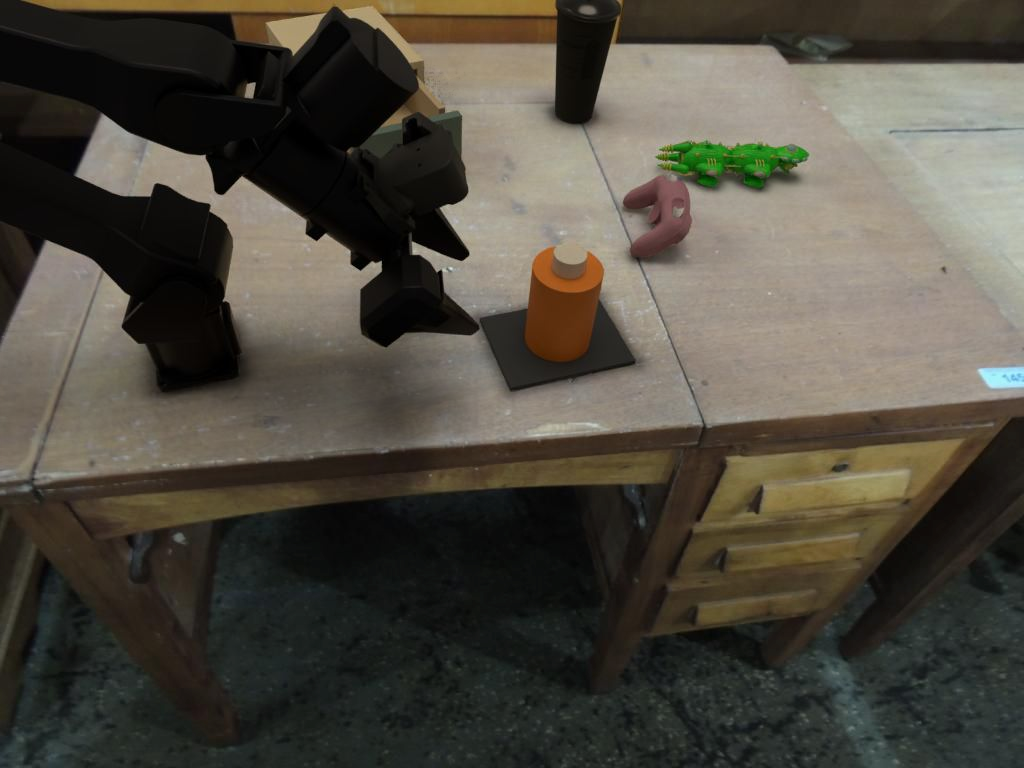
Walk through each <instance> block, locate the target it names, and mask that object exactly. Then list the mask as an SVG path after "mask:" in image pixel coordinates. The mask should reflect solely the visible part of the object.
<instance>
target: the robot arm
mask: <svg viewBox="0 0 1024 768" xmlns="http://www.w3.org/2000/svg"><path fill="white" fill-rule="evenodd" d="M325 13H326V14H325V16H324V17H323V18H322V19H321V21H320V23H319V25H318V27H317V29H316V30H315V32H314V33H313V34H312V35H311V37H310V38H309V39H308V40H307V41H306V42H305V43H304V44H303V46H302V47H301V48H300V49H299V50H298V51H297V52H296V53H295V54H294V56H293V52H292V51H291V49H289V48H287V47H280V46H273V45H270V44H265V43H258V42H252V41H251V42H250V41H244V40H237V39H230V38H228V37H227V36H226V35H225V34H223V33H222V32H221V31H218V30H216V29H213V28H212V27H209V26H206V25H202V24H198V23H189V22H181V21H175V20H168V19H159V18H153V17H142V18H141V17H140V18H129V19H121V20H120V19H119V20H117V19H116V20H102V19H94V18H88V17H87V18H86V17H83V16H79V15H77V14H76V15H75V14H72V13H68V12H65V11H62V10H58V9H54V8H51V7H48V6H43V5H40V4H36V3H33V2H29V1H26V0H0V83H1V84H4V85H5V84H6V85H10V86H13V87H17V88H21V89H26V90H29V91H34V92H37V93H41V94H46V95H50V96H54V97H59V98H62V99H67V100H71V101H74V102H77V103H79V104H82V105H84V106H87V107H89V108H92V109H94V110H97V111H98V112H99V113H101V114H102V115H104V116H105V117H106V118H108V120H111V121H112V122H113V123H114V124H116V125H117V126H119V127H120V128H121V129H123V130H124V131H125V132H127V133H128V134H131V135H133V136H136V137H138V138H142V139H144V140H146V141H150V142H152V143H154V144H157V145H160V146H162V147H165V148H167V149H171V150H173V151H176V152H179V153H182V154H185V155H189V156H198V157H199V156H205V158H204V159H205V161H206V162H207V165H208V167H209V169H210V173H211V178H212V182H213V191H214V193H215V194H217V195H218V196H224V195H226V193H227V192H229V190H230V189H231V188H232V187H234V185H235V184H236V183H237V182H238V181H239V180H240V179H241V178H244V179H245V180H247V181H248V182H250V183H251V184H253V185H254V186H255V187H257V188H258V189H260V190H262V191H263V192H264V193H266V194H267V195H268V196H270V197H271V198H273V199H275V200H276V201H277V202H279V203H280V204H281V205H283V206H284V207H286V208H288V209H289V210H290V211H292V212H293V213H295V214H296V215H297V216H299V217H301V218H302V219H304V220H305V232H304V234H305V235H306V236H308V237H309V238H310V239H312V240H313V241H315V242H318V241H319V240H320V239H321V238H322V237H324V235H326V236H328V237H330V238H331V239H332V240H334V241H335V242H337V243H339V244H340V245H342V246H343V247H344V248H346V249H347V250H348V251H350V256H349V257H350V261H349V263H350V265H351V266H352V267H353V268H355V269H357V270H358V271H359V272H362V271H363V270H364V269H365V268H366V267H367V266H369V265H370V264H371V263H372V262H373V263H374V264H378V263H381V271H380V272H379V273H378V274H376V276H375V277H373V278H372V279H370V280H369V281H368V282H367V283H366V284H365V285H364V286H363V287H361V288H360V289H359V292H360V293H359V326H360V327H359V328H360V334H361V336H363V337H365V338H366V339H368V340H370V341H371V342H373V343H374V344H376V345H378V346H379V347H381V348H386V349H388V347H390V346H391V345H392V344H393V343H394V342H396V341H398V340H399V339H400V338H401V337H402V336H404V335H405V334H417V333H419V334H420V333H421V334H422V333H423V334H424V333H425V334H442V335H454V336H455V335H457V336H473V335H475V334H476V333H477V332H479V331H480V328H481V327H480V324H479V323H478V322H477V321H476V320H475V319H474V318H473V317H472V316H471V315H470V314H469V313H468V312H467V311H466V310H465V309H464V308H462V307H461V306H460V305H459V304H458V303H457V302H456V301H455V300H454V299H452V297H451V296H449V294H447V293H446V292H445V284H444V283H445V282H444V272H443V270H442V269H440V270H438V271H437V270H436V269H435V266H433V264H432V262H431V261H429V260H428V259H426V258H425V257H423V255H421V254H414V252H413V243H414V244H417V245H419V246H421V247H424V248H426V249H428V250H430V251H433V252H435V253H438V254H440V255H443V256H445V257H447V258H450V259H453V260H455V261H456V260H457V261H458V262H464V261H465V260H467V258H469V257H470V255H471V254H470V250H469V249H468V247H467V246H466V244H465V243H464V242H463V240H462V238H461V237H460V236H459V234H458V233H457V231H456V229H454V227H453V225H452V224H451V223H450V221H449V220H448V218H447V216H446V215H445V214H444V213H443V210H442V209H441V208H442V207H445V206H447V205H448V206H449V205H450V206H453V205H456V204H458V203H460V202H462V201H464V200H465V199H466V198H467V197H468V194H469V189H470V188H469V184H468V180H467V174H466V171H467V167H466V166H465V163H464V161H463V159H461V157H460V155H459V153H458V151H457V150H456V148H455V146H454V144H453V138H452V133H451V132H450V131H449V130H445V129H444V127H443V125H442V124H440V125H438V126H437V125H436V124H435V123H434V122H433V121H431V120H430V119H428V118H427V117H426V116H424V115H423V114H421V113H420V112H416V113H414V114H411V115H409V116H407V117H405V118H403V119H402V144H398V143H396V144H393V148H392V149H390V150H389V151H388V152H387V153H386V154H385V155H384V156H383V157H382V158H379V157H377V156H375V155H374V154H373V153H371V152H370V151H369V150H368V149H364V150H362V149H361V148H359V146H361V145H362V144H363V143H364V142H365V141H366V140H367V139H368V138H369V137H370V136H372V135H373V134H374V133H375V132H376V131H377V130H378V129H379V128H380V127H381V126H382V125H383V124H384V123H385V122H386V121H387V120H388V119H389V118H390V117H391V116H392V115H393V114H394V113H395V112H396V111H397V110H398V109H399V108H400V107H401V106H402V105H403V104H404V103H406V102H407V101H408V100H409V99H410V98H411V97H412V96H413V95H414V94H415V93H416V92H417V91H418V89H419V82H418V79H417V76H416V74H415V72H414V70H413V68H412V67H411V65H410V63H409V62H408V60H407V59H406V57H405V56H404V55H403V53H402V52H401V51H400V49H399V48H398V47H397V46H396V45H395V44H394V42H393V41H392V40H391V39H390V38H389V37H388V36H387V35H386V34H385V33H384V32H383V31H381V30H380V29H379V28H376V29H374V28H373V27H372V26H370V25H369V24H368V23H366V22H364V21H362V20H360V19H357V18H349V17H348V16H347V15H346V14H345V13H344V12H343V11H342V9H341V8H339V6H331V8H329V10H327V12H325ZM254 83H255V84H254ZM249 84H254V90H253V95H252V97H246V94H247V93H246V92H247V88H248V85H249ZM351 147H352V148H356V147H357V148H356V149H355V150H354V151H353V152H352V153H351V154H350V153H349V152H347V151H348V150H349V149H350V148H351ZM211 208H212V207H211V203H209V202H203V201H197V200H195V199H191V198H189V197H187V196H186V195H183V194H182V193H180V192H179V191H177V190H175V189H174V188H172V187H171V186H169V185H166V184H163V183H161V182H160V183H159V182H156V183H154V185H153V187H152V190H151V194H150V196H149V195H145V196H144V195H121V194H117V193H114V192H112V191H109V190H107V189H105V188H104V187H103V188H102V187H100V186H98V185H96V184H94V183H92V182H89V181H87V180H85V179H82V178H81V177H78V176H77V175H74V174H72V173H70V172H68V171H65V170H63V169H62V168H60V167H56V166H54V165H52V164H50V163H48V162H46V161H43V160H41V159H39V158H37V157H34V156H33V155H30V154H28V153H26V152H24V151H21V150H19V149H17V148H15V147H13V146H10V145H8V144H6V143H4V142H1V141H0V223H2V224H5V225H8V226H9V227H12V228H14V229H17V230H19V231H22V232H24V233H27V234H30V235H32V236H35V237H38V238H40V239H43V240H44V241H47V242H50V243H52V244H55V245H57V246H59V247H62V248H65V249H67V250H70V251H72V252H75V253H77V254H79V255H82V256H84V257H86V258H88V259H90V260H92V261H93V262H95V264H97V266H98V267H99V268H100V269H101V270H102V271H103V272H104V273H105V274H106V275H107V276H108V277H109V278H110V280H112V281H113V282H114V283H115V284H116V285H117V287H118V288H119V289H120V290H121V291H122V292H123V293H125V294H126V295H128V296H129V298H128V303H127V305H126V309H125V312H124V316H123V319H122V323H121V329H122V330H123V331H124V332H125V333H126V334H127V335H128V336H129V337H130V338H131V339H132V340H133V341H135V343H137V344H139V345H145V347H146V349H147V351H148V353H149V356H150V357H151V360H152V363H153V364H154V367H155V372H156V373H155V375H156V386H157V389H158V390H159V391H160V392H167V391H171V390H177V389H182V388H188V387H193V386H197V385H201V384H207V383H213V382H217V381H218V382H219V381H223V380H227V379H233V378H236V377H238V376H239V375H240V367H239V359H238V357H239V356H241V355H242V347H241V346H242V345H241V339H240V333H239V330H238V326H237V324H236V323H237V322H236V320H235V315H234V314H233V310H232V307H231V304H230V302H229V301H227V300H224V299H225V297H226V291H227V286H228V280H229V274H230V269H231V263H232V258H233V251H234V237H233V236H232V233H231V231H230V229H229V228H228V223H227V222H225V221H224V220H223V218H221V217H220V216H218V214H217V215H216V214H215V213H213V212H212V211H211Z"/></svg>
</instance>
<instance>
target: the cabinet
mask: <svg viewBox="0 0 1024 768" xmlns="http://www.w3.org/2000/svg"><path fill="white" fill-rule="evenodd" d="M341 11H343V12H344V13H345V14H346V15H347V16H348V17H349V18H357V19H360V20H362V21H364V22H366V23H368V24H369V25H370V26H372V27H373V28H374V29H376V28H379V29H380V30H381V31H383V32H384V33H385V34H386V35H387V36H388V37H389V38H390V39H391V40H392V41H393V42H394V44H395V45H396V46H397V47H398V48H399V49H400V51H401V52H402V53H403V55H404V56H405V57H406V59H407V60H408V62H409V63H410V65H411V67H412V68H413V70H414V72H415V74H416V76H417V77H418V78H419V79H420V80H421V81H422V83H423V84H424V85H425V86H426V82H425V81H426V80H425V79H426V78H425V59H423V58H422V56H421V55H419V53H418V52H417V51H416V50H415V49H414V48H413V47H412V46H411V45H410V44H409V43H408V41H406V39H404V37H403V36H401V34H400V33H399V32H398V31H397V30H396V29H395V28H394V27H393V26H392V25H391V24H390V23H389V22H388V20H387V19H386V18H385V17H384V16H383V15H382V14H381V13H380V12H379V11H378V10H377V9H376V8H375V7H374V6H373V5H367V6H360V7H356V8H349V9H341ZM326 13H327V12H324V13H317V14H311V15H305V16H298V17H292V18H286V19H279V20H273V21H266V22H265V27H266V32H267V38H268V45H273V46H280V47H287V48H289V49H291V51H292V52H293V56H294V54H295V53H296V52H297V51H298V50H299V49H300V48H301V47H302V46H303V44H304V43H305V42H306V41H307V40H308V39H309V38H310V37H311V35H312V34H313V33H314V32H315V30H316V29H317V27H318V25H319V23H320V21H321V19H322V18H323V17H324V16H325V14H326Z"/></svg>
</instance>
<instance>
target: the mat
mask: <svg viewBox="0 0 1024 768" xmlns="http://www.w3.org/2000/svg"><path fill="white" fill-rule="evenodd" d="M527 310H528V308H523V309H518V310H514V311H513V310H512V311H507V312H502V313H497V314H492V315H487V316H481V317H479V323H480V325H481V327H482V329H483V331H484V334H485V337H486V338H487V341H488V343H489V345H490V348H491V350H492V352H493V354H494V357H495V359H496V361H497V363H498V366H499V368H500V370H501V372H502V374H503V377H504V379H505V381H506V384H507V386H508V388H509V391H511V392H512V391H515V390H520V389H525V388H530V387H533V386H539V385H542V384H543V385H544V384H546V383H552V382H556V381H560V380H565V379H569V378H575V377H580V376H583V375H587V374H588V375H589V374H592V373H597V372H601V371H606V370H610V369H614V368H619V367H624V366H628V365H633V364H636V361H637V360H636V358H635V356H634V355H633V353H632V351H631V349H630V348H629V346H628V345H627V344H626V342H625V340H624V338H623V336H622V335H621V334H620V331H619V330H618V328H617V326H616V324H615V323H614V321H613V320H612V318H611V316H610V315H609V313H608V311H607V310H606V309H605V306H604V305H603V302H602V301H601V299H599V300H598V305H597V310H596V315H595V319H594V324H593V329H592V334H591V339H590V344H589V347H588V349H587V351H586V352H585V353H584V354H583V355H582V356H581V357H579V358H577V359H575V360H572V361H569V362H552V361H548V360H545V359H542V358H540V357H538V356H537V355H535V354H534V353H533V352H532V351H531V350H530V349H529V347H528V346H527V344H526V341H525V329H526V320H527Z"/></svg>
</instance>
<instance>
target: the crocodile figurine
mask: <svg viewBox="0 0 1024 768" xmlns="http://www.w3.org/2000/svg"><path fill="white" fill-rule="evenodd" d="M763 144H764V142H763V141H758V142H757V143H752V142H751V143H744V144H743V145H741V144H740V142H736V145H723V143H722V142H721V141H719V142H718V144H713V143H712V142H711V140H707V139H706V140H704V141H703V142H702V141H701V142H696V141H694V140H690V141H689V140H685V141H683V142H682V141H681V142H679V143H675V144H673V143H670V144H667V145H664V146H662V147H661V148H659V149H658V151H662V153H660V154H657V155H655V156H654V158H655V159H657V160H659V161H662V162H661V163H658V164H657V167H660V169H662V170H664V171H668V172H670V171H672V172H674V173H677V174H679V175H682V176H684V177H688V176H691V175H692V176H694V175H695V174H697V180H696V182H697V183H698V184H700V185H701V186H706V187H709V188H714V187H716V186H718V184H719V179H718V178H717V177H720V176H721V175H723V173H734V174H735V176H736V177H738V176H739V175H740V174H743V177H744V180H743V181H742V183H743V184H744V185H746V186H747V187H752V188H755V189H760V188H762V187H764V186H765V180H764V179H767V178H769V177H770V175H771V173H772V172H774V171H775V170H776V169H777V168H779V169H780V170H782V171H783V172H784V174H786V175H790V174H791V172H790V171H791V170H793V169H794V168H797V167H798V164H801V163H805V162H807V161H808V158H809V157H810V153H809V152H808V151H807V150H806V149H804V148H803V147H801V146H798V145H796V144H794V143H789V144H787V145H782V146H781V145H779V146H771V145H769V143H765V145H763ZM664 152H665V153H664ZM668 161H669V162H668ZM672 162H674V163H672Z"/></svg>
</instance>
